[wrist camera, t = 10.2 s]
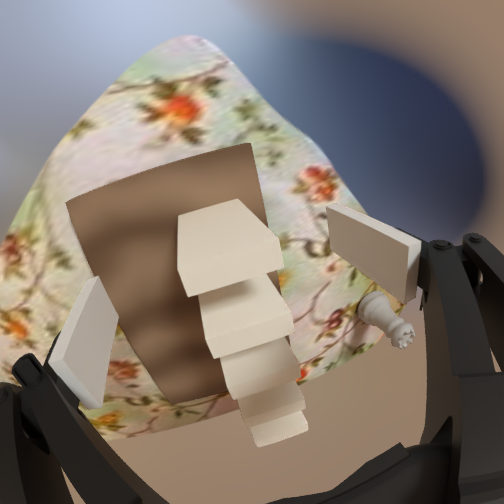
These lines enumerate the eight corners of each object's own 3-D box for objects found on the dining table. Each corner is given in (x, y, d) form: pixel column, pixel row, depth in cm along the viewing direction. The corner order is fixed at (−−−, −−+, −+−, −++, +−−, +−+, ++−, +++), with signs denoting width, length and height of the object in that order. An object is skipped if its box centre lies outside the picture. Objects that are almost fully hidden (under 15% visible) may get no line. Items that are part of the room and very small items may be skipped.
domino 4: (270, 336, 29) (305, 408, 20) (225, 351, 28) (247, 428, 19) (267, 325, 28) (304, 398, 19) (221, 340, 27) (242, 419, 18)
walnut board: (290, 361, 33) (294, 369, 32) (171, 395, 31) (171, 404, 29) (246, 143, 22) (250, 143, 21) (71, 198, 20) (65, 202, 19)
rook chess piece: (387, 299, 34) (425, 332, 26) (365, 323, 34) (399, 360, 27) (374, 282, 32) (415, 317, 25) (349, 309, 32) (386, 348, 25)
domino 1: (242, 216, 23) (284, 267, 14) (183, 233, 22) (188, 297, 13) (237, 198, 22) (278, 238, 13) (178, 215, 22) (177, 269, 13)
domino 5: (276, 363, 30) (308, 430, 22) (235, 376, 30) (257, 447, 21) (274, 354, 30) (307, 423, 21) (232, 368, 29) (254, 441, 20)
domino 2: (253, 264, 25) (294, 332, 16) (199, 280, 24) (214, 358, 15) (249, 248, 24) (291, 312, 15) (193, 264, 23) (205, 339, 14)
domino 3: (262, 304, 27) (301, 377, 18) (213, 319, 26) (233, 400, 17) (259, 290, 26) (299, 363, 17) (208, 306, 25) (227, 387, 16)
